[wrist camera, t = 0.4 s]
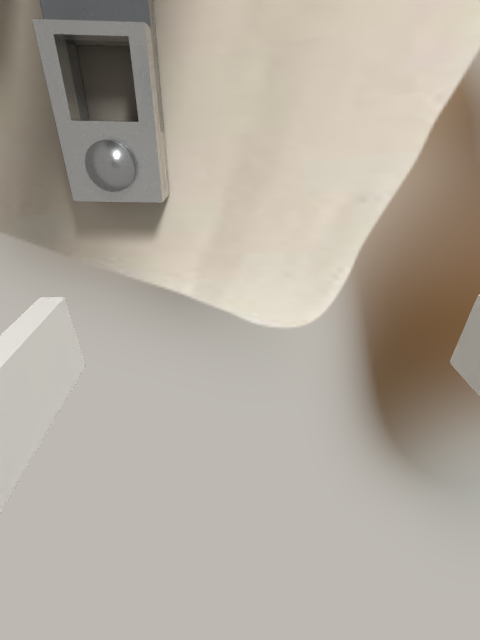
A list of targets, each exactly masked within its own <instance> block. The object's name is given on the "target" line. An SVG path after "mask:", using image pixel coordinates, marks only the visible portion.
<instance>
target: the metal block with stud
mask: <svg viewBox="0 0 480 640" xmlns="http://www.w3.org/2000/svg"><path fill="white" fill-rule="evenodd" d="M40 4H41V8H42V13H43V18H44V19H32V22H33V26H34V31H35V35H36V39H37V44H38V48H39V52H40V57H41V61H42V66H43V70H44V74H45V79H46V83H47V87H48V92H49V96H50V101H51V105H52V109H53V114H54V118H55V122H56V127H57V131H58V136H59V140H60V144H61V149H62V153H63V158H64V162H65V166H66V171H67V175H68V179H69V184H70V188H71V193H72V197H73V201H80V202H151V203H163V202H164V200H165V199H166V198H167V197H168V195H169V183H168V171H167V159H166V148H165V136H164V124H163V113H162V101H161V89H160V77H159V66H158V54H157V42H156V31H155V19H154V7H153V0H40ZM76 45H111V46H130V53H131V61H132V70H133V78H134V87H135V95H136V104H137V112H138V121H91V120H89V116H88V111H87V105H86V100H85V94H84V89H83V83H82V78H81V72H80V67H79V61H78V56H77V50H76Z"/></svg>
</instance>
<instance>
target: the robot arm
mask: <svg viewBox="0 0 480 640" xmlns="http://www.w3.org/2000/svg"><path fill="white" fill-rule="evenodd" d="M450 363H451V364H452V366H453V367H454V368H455V369H456V370H457V371H458V372H459V373H460V375H461V376H462V377H463V378H464V379H465V380H466V381H467V383H468V384H469V385H470V386H471V387H472V388H473V389H474V391H475V392H476V393H477V394H478V395H479V396H480V295H478V297H477V299H476V301H475V304H474V306H473V309H472V311H471V313H470V316H469V318H468V320H467V323H466V325H465V327H464V330H463V332H462V334H461V337H460V339H459V342H458V344H457V346H456V349H455V351H454V353H453V356H452V358H451V361H450ZM85 366H86V365H85V362H84V359H83V356H82V352H81V349H80V345H79V342H78V339H77V336H76V332H75V329H74V326H73V322H72V319H71V316H70V313H69V309H68V306H67V303H66V299H65V297H40V298H39V299H38V300H37V301H36V302H34V303H33V304H32V306H30V307H29V308H28V309H27V310H26V311H25V312H24V313H23V314H22V315H21V316H20V317H19V318H18V319H17V320H16V321H15V322H14V323H13V324H12V325H10V326H9V327H8V328H7V329H6V330H5V331H4V332H3V333H2V334H1V335H0V513H1V511H2V509H3V507H4V506H5V504H6V502H7V501H8V499H9V497H10V496H11V494H12V492H13V490H14V489H15V487H16V485H17V483H18V482H19V480H20V478H21V477H22V475H23V473H24V471H25V470H26V468H27V466H28V464H29V463H30V461H31V459H32V458H33V456H34V454H35V452H36V451H37V449H38V447H39V446H40V444H41V442H42V440H43V439H44V437H45V435H46V433H47V432H48V430H49V428H50V426H51V425H52V423H53V421H54V420H55V418H56V416H57V414H58V413H59V411H60V409H61V407H62V406H63V404H64V402H65V401H66V399H67V397H68V395H69V394H70V392H71V390H72V388H73V387H74V385H75V383H76V382H77V380H78V378H79V377H80V375H81V373H82V371H83V370H84V368H85Z"/></svg>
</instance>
